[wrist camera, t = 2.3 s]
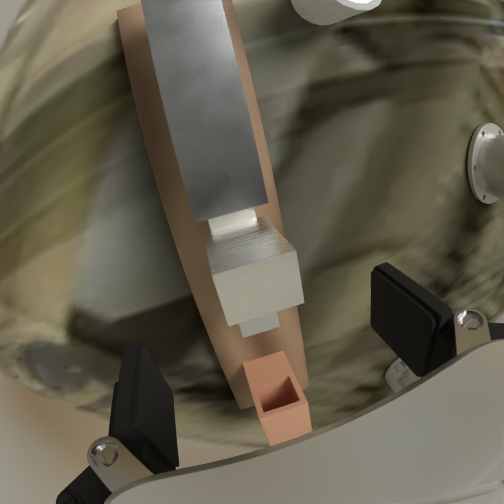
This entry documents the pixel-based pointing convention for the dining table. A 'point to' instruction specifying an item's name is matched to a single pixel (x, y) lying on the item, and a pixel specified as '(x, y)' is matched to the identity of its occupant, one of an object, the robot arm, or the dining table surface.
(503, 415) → the robot arm
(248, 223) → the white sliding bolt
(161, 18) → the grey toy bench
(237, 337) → the base board
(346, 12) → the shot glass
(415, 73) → the dining table surface
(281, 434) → the socket
